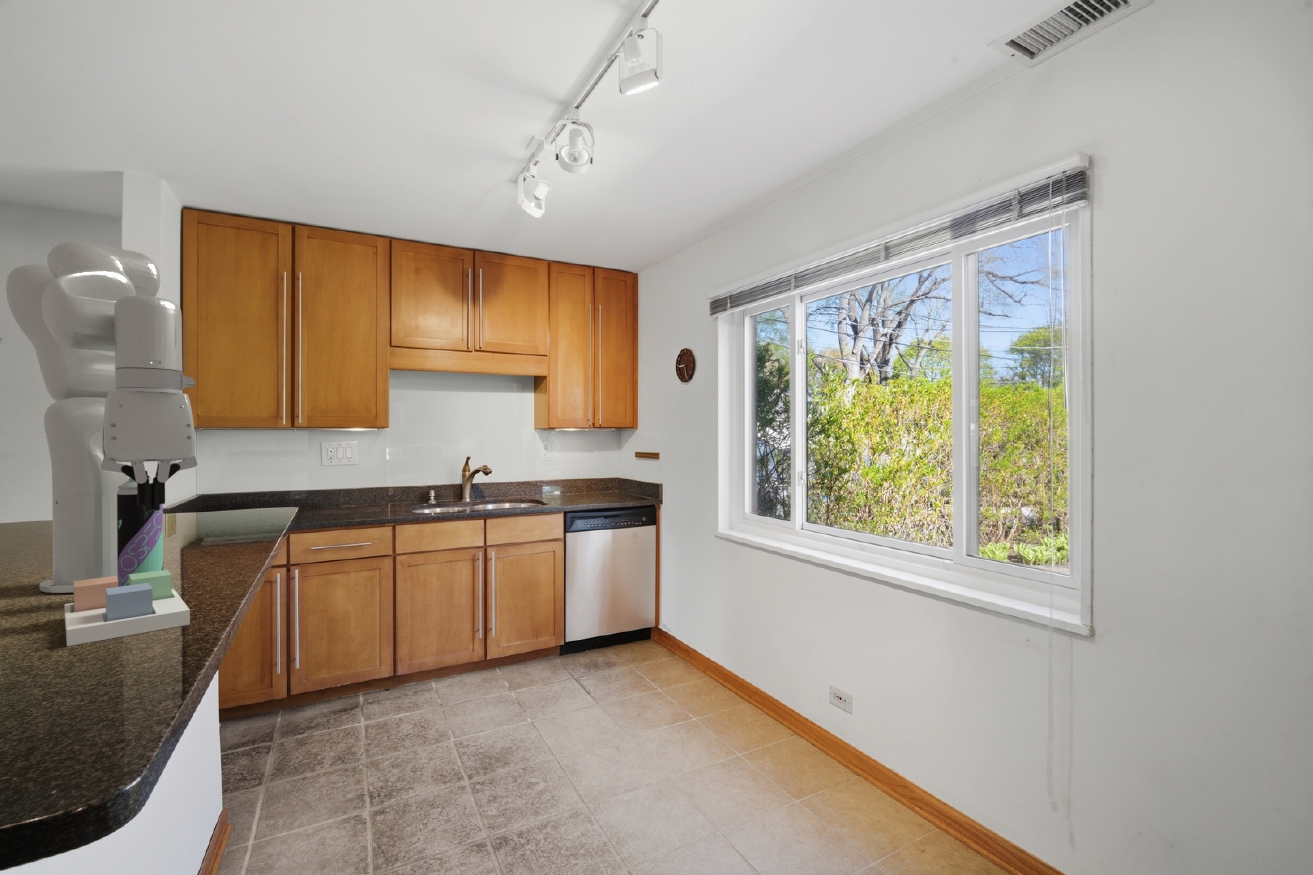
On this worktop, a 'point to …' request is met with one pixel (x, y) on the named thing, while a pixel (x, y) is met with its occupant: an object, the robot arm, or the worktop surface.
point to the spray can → (137, 535)
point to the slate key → (128, 601)
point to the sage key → (155, 583)
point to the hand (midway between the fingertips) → (151, 509)
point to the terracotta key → (92, 593)
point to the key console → (123, 621)
